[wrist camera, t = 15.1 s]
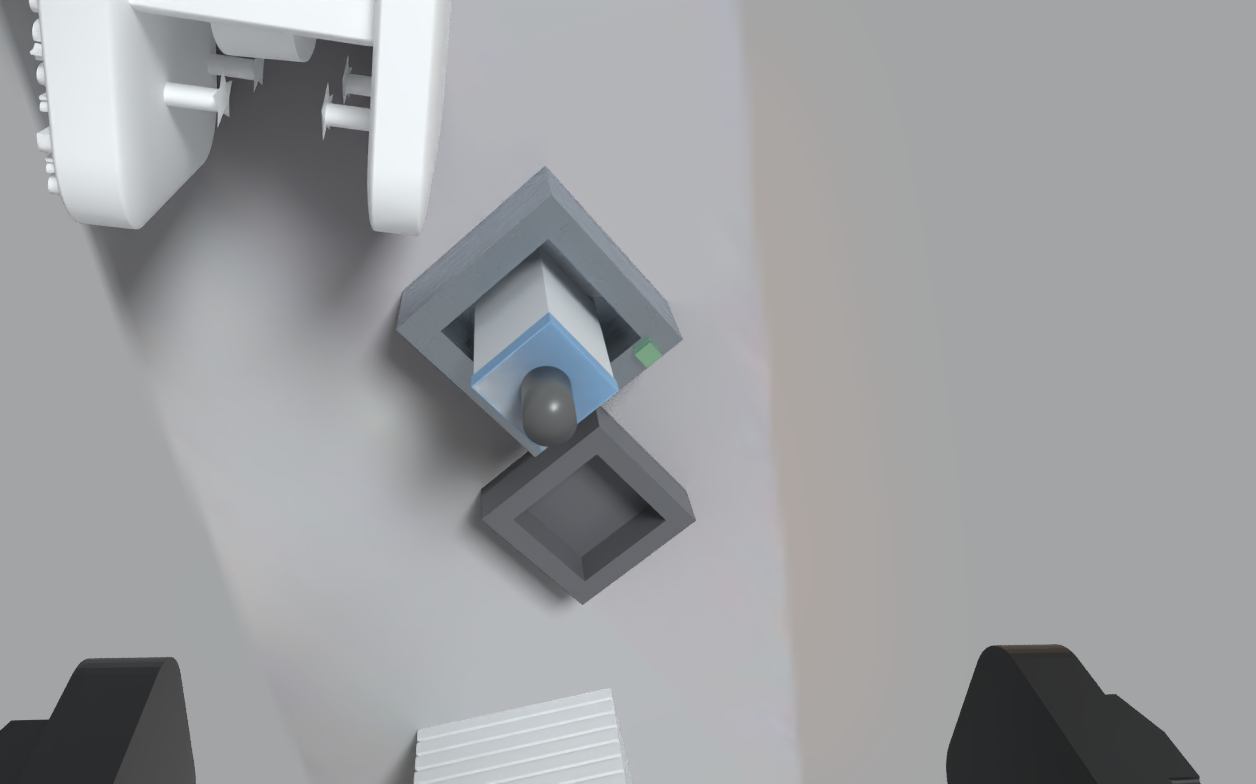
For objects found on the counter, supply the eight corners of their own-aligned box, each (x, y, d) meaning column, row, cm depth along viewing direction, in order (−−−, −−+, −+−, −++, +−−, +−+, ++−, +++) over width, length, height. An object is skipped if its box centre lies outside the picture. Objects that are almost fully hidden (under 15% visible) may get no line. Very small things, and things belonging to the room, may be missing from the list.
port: (403, 290, 41) (394, 333, 37) (545, 166, 39) (552, 197, 36) (531, 411, 45) (535, 462, 41) (666, 301, 43) (684, 343, 39)
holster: (481, 489, 46) (481, 519, 44) (593, 399, 45) (599, 426, 43) (578, 572, 49) (582, 604, 47) (686, 490, 48) (695, 520, 46)
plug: (473, 299, 41) (470, 421, 32) (539, 243, 40) (555, 351, 31) (532, 357, 43) (545, 489, 34) (596, 304, 42) (628, 425, 33)
